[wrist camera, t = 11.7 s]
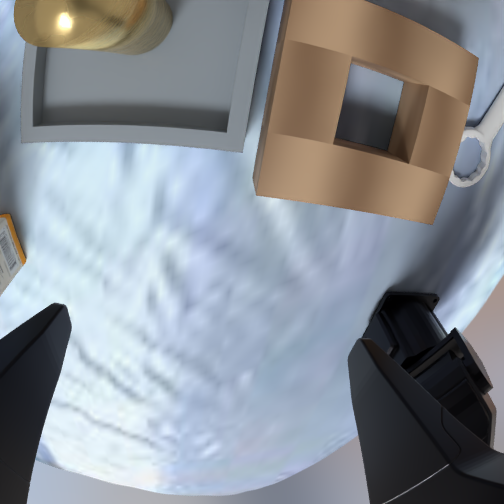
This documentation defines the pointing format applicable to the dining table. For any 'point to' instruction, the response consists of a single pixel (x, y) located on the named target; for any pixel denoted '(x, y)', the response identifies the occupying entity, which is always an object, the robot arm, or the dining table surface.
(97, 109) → the tray
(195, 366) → the dining table surface
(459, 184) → the wrench
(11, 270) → the supplement box
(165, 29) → the brass pin
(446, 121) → the pin block
